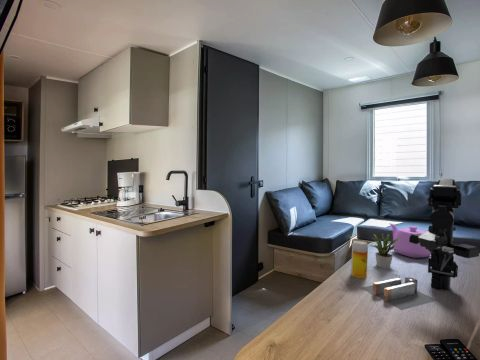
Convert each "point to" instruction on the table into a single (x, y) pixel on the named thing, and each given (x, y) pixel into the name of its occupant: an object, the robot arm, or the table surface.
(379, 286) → the arm
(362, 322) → the table surface
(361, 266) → the beer can
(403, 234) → the teapot
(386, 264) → the house plant
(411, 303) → the charcoal mat
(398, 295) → the tongs hinged arm
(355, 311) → the table surface
